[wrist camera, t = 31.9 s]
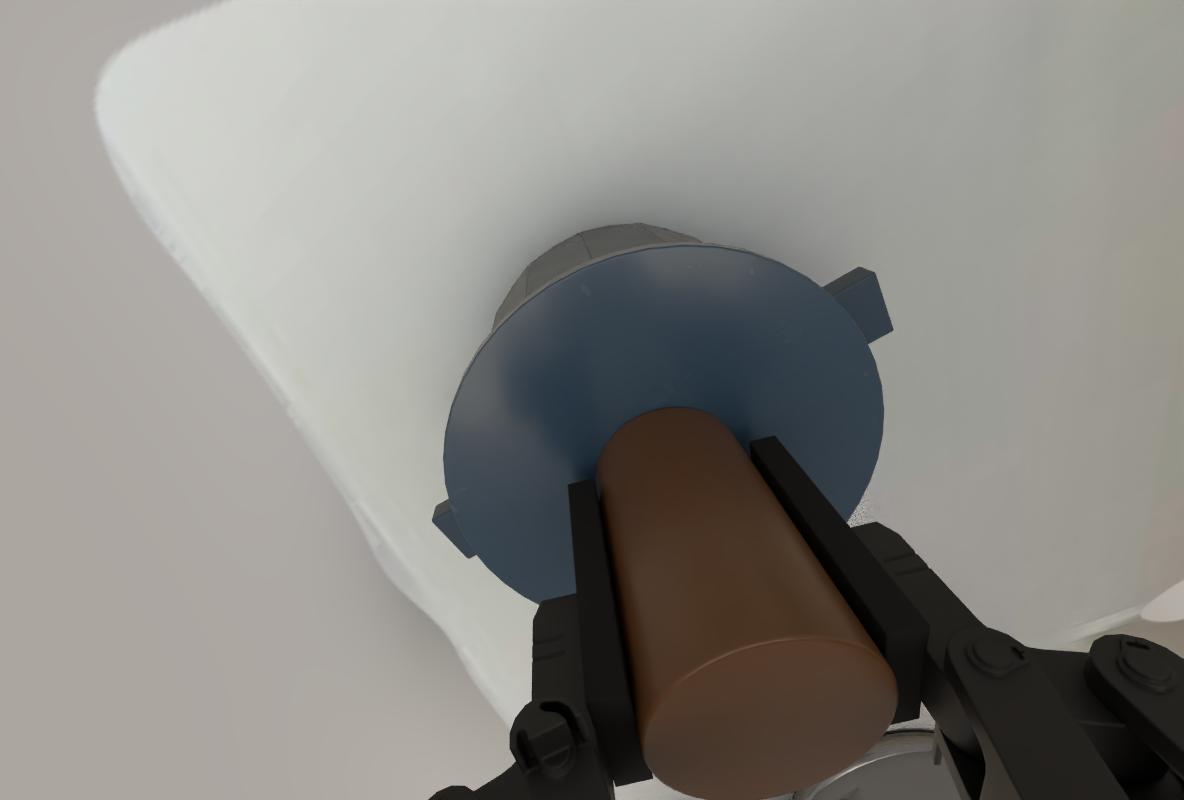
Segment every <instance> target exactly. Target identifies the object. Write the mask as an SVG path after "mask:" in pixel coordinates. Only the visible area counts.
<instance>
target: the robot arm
mask: <svg viewBox="0 0 1184 800" xmlns="http://www.w3.org/2000/svg"><path fill="white" fill-rule="evenodd" d="M749 444H750V455H751V461H752V462H753V464H754V465H755V467H756V468H757V470H758V471H759V473H760V474H761V476H762V477H763V479H764V480H765V482H766V483H767V485H768V486H769V488H770V489H771V491H772V492H773V494H774V495H775V497H776V498H777V500H778V501H779V502H780V504H781V505H782V507H783V508H784V510H785V511H786V513H787V514H788V516H789V517H790V519H791V520H792V522H793V523H794V525H795V526H796V528H797V529H798V531H799V532H800V534H801V535H802V537H803V538H804V540H805V541H806V543H807V544H808V545H809V547H810V548H811V550H812V551H813V553H814V554H815V556H816V557H817V559H818V560H819V562H820V563H821V565H822V566H823V568H824V569H825V571H826V572H827V574H828V575H829V577H830V578H831V580H832V581H833V583H834V584H835V586H836V587H837V589H838V590H839V591H840V593H841V594H842V596H843V597H844V599H845V600H846V602H847V603H848V605H849V606H850V608H851V609H852V611H853V612H854V614H855V615H856V617H857V618H858V620H859V621H860V623H861V624H862V626H863V627H864V629H865V630H866V632H867V633H868V634H869V636H870V637H871V639H872V640H873V642H874V643H875V645H876V646H877V648H878V649H879V651H880V652H881V654H882V655H883V657H884V658H885V660H886V661H887V663H888V664H889V666H890V667H891V669H892V670H893V672H894V675H895V678H896V681H897V686H898V705H897V709H896V712H895V715H894V718H893V720H892V722H891V724H890V725H892V724H896V723H901V722H905V721H910V720H914V719H918V718H919V715H920V706H921V701H922V703H923V704H924V705H925V707H926V708H927V710H928V711H929V713H930V714H931V716H932V717H933V719H934V720H935V721H936V724H935V731H934V733H928V732H902V733H894V734H888V735H884V736H882V737H881V738H880V740H879V741H878V742H877V743H876V744H875V745H874V746H873V747H872V748H871V749H870V750H869V751H868V752H867V753H866V754H865V755H864V756H862V757H861V758H860V759H858V760H857V761H856V762H855V763H853V764H852V765H850V766H849V767H847V768H846V769H844V770H843V771H841V772H839V773H837V774H836V775H834V776H832V777H830V778H828V779H826V780H824V781H822V782H819V783H817V784H815V785H813V786H810V787H807V788H804V789H802V790H799V791H796V793H795V796H794V799H793V800H1184V659H1183V658H1181V657H1179V656H1178V655H1176V654H1175V653H1173V652H1172V651H1170V650H1169V649H1167V648H1165V647H1163V646H1161V645H1158V644H1156V643H1153V642H1151V641H1148V640H1146V639H1143V638H1139V637H1134V636H1129V635H1124V634H1118V635H1105V636H1103V637H1101V638H1099V639H1097V640H1095V641H1094V642H1093V644H1092V647H1091V649H1090V651H1089V653H1084V652H1070V651H1056V650H1043V649H1036V648H1030V647H1026V646H1024V645H1023V644H1021V643H1020V642H1018V641H1017V640H1015V639H1014V638H1012V637H1011V636H1009V635H1007V634H1005V633H1002V632H999V631H997V630H994V629H991V628H987V627H986V626H985V625H983V624H982V623H981V622H980V621H979V620H978V619H977V618H976V617H975V616H974V615H973V614H972V613H971V611H970V610H969V609H968V608H967V607H966V606H965V605H964V604H963V603H962V602H961V601H960V600H959V598H958V597H957V596H956V595H955V594H954V593H953V592H952V591H951V590H950V589H949V588H948V587H947V586H946V584H945V583H944V582H943V581H942V580H941V579H940V578H939V577H938V576H937V575H936V574H935V573H934V572H933V570H932V569H931V568H930V569H929V568H928V566H927V564H926V563H925V562H924V561H923V560H922V559H921V558H920V556H919V555H918V554H917V555H916V554H915V552H914V550H913V549H912V548H911V547H910V546H909V545H908V544H907V542H906V541H905V540H904V539H903V538H902V537H901V536H900V535H899V534H898V533H896V532H894V531H892V530H891V529H889V528H887V527H885V526H884V525H882V524H880V523H878V522H873V523H869V524H864V525H860V526H856V527H851V528H850V527H849V525H848V524H847V523H846V522H845V520H844V519H843V518H842V517H841V516H840V514H839V513H838V512H837V511H836V509H835V508H834V507H833V506H832V504H831V503H830V502H829V501H828V500H827V498H826V497H825V496H824V495H823V493H822V492H821V491H820V490H819V489H818V487H817V486H816V485H815V484H814V482H813V481H812V480H811V479H810V478H809V476H808V475H807V474H806V473H805V471H804V470H803V469H802V468H801V467H800V465H799V464H798V463H797V462H796V460H795V459H794V458H793V457H792V455H791V454H790V453H789V452H788V451H787V449H786V448H785V447H784V446H783V444H782V443H781V442H780V441H779V440H778V438H777V437H776V436H775V435H774V436H770V437H766V438H761V439H757V440H753V441H749ZM568 495H569V508H570V520H571V532H572V544H573V557H574V569H575V581H576V593H574V594H570V595H565V596H561V597H557V598H553V599H548V600H544V601H541V603H540V606H539V608H538V610H537V612H536V615H535V617H534V619H533V648H532V658H533V662H532V701H531V702H530V703H528V704H527V705H525V706H524V708H523V709H522V710H521V711H520V713H519V714H518V715H517V717H516V718H515V720H514V723H513V726H512V728H511V731H510V750H511V752H512V754H513V756H514V758H515V760H516V762H515V763H514V764H513V765H512V766H511V767H510V768H509V769H508V770H506V771H505V772H504V773H502V774H501V775H499V776H498V777H496V778H495V779H493V780H491V781H490V782H488V783H487V784H485V785H483V786H482V787H480V788H479V789H477V790H475V791H472V790H471V789H469V788H468V787H466V786H450V787H447V788H445V789H443V790H440V791H438V792H436V794H435V795H433V796H432V797H431V798H430V799H428V800H615V793H614V784H613V780H614V783H615V786H616V787H618V786H623V785H627V784H631V783H636V782H640V781H645V780H649V779H653V775H652V772H651V770H650V769H649V767H648V766H647V764H646V762H645V760H644V758H643V755H642V752H641V748H640V743H639V737H638V731H637V723H636V717H635V711H634V705H633V699H632V693H631V687H630V681H629V675H628V669H627V663H626V657H625V651H624V645H623V639H622V633H621V627H620V621H619V615H618V609H617V603H616V597H615V591H614V585H613V579H612V573H611V567H610V561H609V555H608V549H607V543H606V537H605V531H604V525H603V519H602V513H601V507H600V502H599V498H598V495H597V491H596V487H595V484H594V480H593V478H592V479H588V480H584V481H580V482H576V483H571V484H568Z"/></svg>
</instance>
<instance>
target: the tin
mask: <svg viewBox="0 0 1184 800" xmlns="http://www.w3.org/2000/svg"><path fill="white" fill-rule="evenodd" d="M668 242H701V243H703V242H702V241H700V240H698V239H696V238H695V237H691V236H688V235H684V234H680V233H677V232H674V231H671V230H668V229H665V228H659V227H654V226H650V225H646V224H642V223H635V224H624V225H613V226H606V227H601V228H597V229H593V230H589V231H585V232H581V233H578V234H576V235H575V236H573V237H570V238H569V239H567V240H565V241H563V242H561V243H559V244H558V245H556V246H554V247H552V248H551V249H550V250H548V251H547V252H546V253H544V254H543V255H542V256H540V257H539V258H538V259H537V260H535V261H534V262H532V263H531V264H530V265H529V266H528V267H527V268H526V270H525V271H524V273H523V274H522V275H521V276H520V278H519V279H518V280H517V281H516V283H515V284H514V285H513V287H512V288H511V290H510V292H509V294H508V295H507V297H506V299H505V300H504V302H503V303H502V305H501V306H500V308H499V309H498V311H497V313H496V317H495V320H494V324H493V328H492V330H493V329H494V328H495V327H496V325H497V324H498V323H499V322H500V321H501V320H502V319H503V318H504V317H505V316H506V315H507V314H508V313H509V312H510V311H511V310H512V309H513V308H515V307H516V306H517V305H518V304H519V303H520V302H521V301H522V300H523V299H524V298H526V297H527V296H529V295H530V294H531V293H533V292H534V291H536V290H537V289H538V288H540V287H541V286H543V285H544V284H545V283H547V282H548V281H550V280H551V279H553V278H555V277H557V276H559V275H561V274H563V273H564V272H566V271H568V270H570V269H572V268H574V267H576V266H578V265H579V264H582V263H585V262H587V261H590V260H593V259H595V258H598V257H601V256H603V255H606V254H609V253H611V252H616V251H620V250H624V249H629V248H633V247H637V246H642V245H647V244H658V243H668ZM822 288H823V289H824V290H825V291H827V292H828V293H829V294H831V295H832V297H833V298H834V299H835V300H836V301H837V302H838V303H839V304H840V305H841V306H842V307H843V308H844V309H845V310H846V311H847V312H848V313H849V314H850V316H851V317H852V319H853V320H854V322H855V323H856V325H857V326H858V328H859V329H860V331H861V332H862V334H863V335H864V337H865V339H866V341H867V344H869V343H871V342H873V341H875V340H877V339H878V338H880V337H882V336H884V335H886V334H888V333H890V332H891V331H893V327H892V324H891V320H890V317H889V314H888V311H887V308H886V305H885V302H884V299H883V295H882V292H881V289H880V286H879V283H878V280H877V277H876V274H875V272H872V271H870V270H867V269H864V268H862V267H857V268H856V269H854V270H852V271H850V272H848V273H847V274H845V275H843V276H841V277H840V278H838V279H836V280H834V281H833V282H831V283H829V284H827V285H825V286H824V287H822ZM491 332H492V331H491ZM432 522H433V523H434V524H435V525H436V526H437V527H438V528H439V529H440V530H441V531H442V532H443V533H444V534H445V535H446V536H447V538H448V539H449V540H450V541H451V542H452V543H453V544H454V545H455V546H456V547H457V548H458V549H459V550H460V551H461V552H462V553H463V554H464V555H465V556H466V557H467V558H468V559H469V558H471V557H473V556H475V555H476V553H475V552H474V551H473V550H472V548H471V546H470V545H469V543H468V541H467V540H466V538H465V537H464V535H463V533H462V532H461V530H460V528H459V525H458V523H457V520H456V518H455V516H454V513H453V511H452V509H451V505H450V501H449V499H447V500H446V501H444V502H442V503H440V504H438V505H437V506H436V508H435V511H434V514H433V518H432Z"/></svg>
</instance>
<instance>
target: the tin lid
mask: <svg viewBox="0 0 1184 800" xmlns="http://www.w3.org/2000/svg"><path fill="white" fill-rule="evenodd" d="M883 420H884V405H883V394H882V385H881V381H880V377H879V373H878V370H877V366H876V362H875V359H874V357H873V355H872V353H871V350H870V348H869V346H868V344H867V341H866V339H865V337H864V335H863V334H862V332H861V331H860V329H859V328H858V326H857V325H856V323H855V322H854V320H853V319H852V317H851V316H850V314H849V313H848V312H847V311H846V310H845V309H844V308H843V307H842V306H841V305H840V304H839V303H838V302H837V301H836V300H835V299H834V298H833V297H832V295H831V294H829V293H828V292H827V291H825V290H824V289H823V288H821V287H820V286H819V285H817V284H816V283H815V282H813V281H812V280H811V279H809V278H808V277H807V276H805V275H803V274H801V273H799V272H797V271H795V270H793V269H791V268H790V267H788V266H786V265H784V264H782V263H780V262H778V261H776V260H774V259H771V258H768V257H766V256H763V255H760V254H757V253H754V252H751V251H748V250H745V249H741V248H736V247H731V246H725V245H720V244H715V243H701V242H668V243H658V244H647V245H642V246H637V247H633V248H629V249H624V250H620V251H616V252H611V253H609V254H606V255H603V256H601V257H598V258H595V259H593V260H590V261H587V262H585V263H582V264H579V265H578V266H576V267H574V268H572V269H570V270H568V271H566V272H564V273H563V274H561V275H559V276H557V277H555V278H553V279H551V280H550V281H548V282H547V283H545V284H544V285H543V286H541V287H540V288H538V289H537V290H536V291H534V292H533V293H531V294H530V295H529V296H527V297H526V298H524V299H523V300H522V301H521V302H520V303H519V304H518V305H517V306H516V307H515V308H513V309H512V310H511V311H510V312H509V313H508V314H507V315H506V316H505V317H504V318H503V319H502V320H501V321H500V322H499V323H498V324H497V325H496V327H495V328H494V329H493V330H492V332H491V333H490V334H489V335H488V337H487V338H486V339H485V340H484V342H483V343H482V344H481V345H480V347H479V348H478V350H477V352H476V354H475V355H474V357H473V359H472V360H471V362H470V364H469V365H468V367H467V369H466V371H465V372H464V375H463V377H462V380H461V382H460V385H459V387H458V390H457V392H456V395H455V397H454V400H453V403H452V406H451V410H450V414H449V418H448V423H447V427H446V431H445V441H444V454H443V463H444V475H445V485H446V489H447V493H448V497H449V501H450V505H451V509H452V511H453V513H454V516H455V518H456V520H457V523H458V525H459V528H460V530H461V532H462V533H463V535H464V537H465V538H466V540H467V541H468V543H469V545H470V546H471V548H472V550H473V551H474V552H475V553H476V555H477V556H478V557H479V558H480V559H481V561H482V562H483V563H484V564H485V565H486V567H487V568H488V569H489V570H490V571H492V572H493V573H494V574H495V575H496V576H497V577H498V578H499V579H500V580H501V581H503V582H504V583H505V584H506V585H508V586H509V587H511V588H512V589H513V590H515V591H516V592H518V593H519V594H521V595H522V596H524V597H525V598H527V599H529V600H531V601H533V602H535V603H537V604H539V605H540V603H541V601H544V600H548V599H553V598H557V597H561V596H565V595H570V594H574V593H576V581H575V569H574V557H573V544H572V532H571V520H570V508H569V495H568V484H571V483H576V482H580V481H584V480H588V479H592V478H593V480H594V484H595V487H596V491H597V495H598V498H599V502H600V507H601V513H602V519H603V525H604V531H605V537H606V543H607V549H608V555H609V561H610V567H611V573H612V579H613V585H614V591H615V597H616V603H617V609H618V615H619V621H620V627H621V633H622V639H623V645H624V651H625V657H626V663H627V669H628V675H629V681H630V687H631V693H632V699H633V705H634V711H635V717H636V723H637V731H638V737H639V743H640V748H641V752H642V755H643V758H644V760H645V762H646V764H647V766H648V767H649V769H650V770H651V772H652V773H653V774H654V775H655V776H656V777H657V778H658V779H659V780H660V781H661V782H663V783H664V784H665V785H667V786H669V787H670V788H672V789H674V790H676V791H678V792H681V793H683V794H685V795H689V796H692V797H696V798H701V799H706V800H760V799H767V798H772V797H777V796H781V795H785V794H789V793H792V792H796V791H799V790H802V789H804V788H807V787H810V786H813V785H815V784H817V783H819V782H822V781H824V780H826V779H828V778H830V777H832V776H834V775H836V774H837V773H839V772H841V771H843V770H844V769H846V768H847V767H849V766H850V765H852V764H853V763H855V762H856V761H857V760H858V759H860V758H861V757H862V756H864V755H865V754H866V753H867V752H868V751H869V750H870V749H871V748H872V747H873V746H874V745H875V744H876V743H877V742H878V741H879V740H880V738H881V737H882V736H883V735H884V733H885V732H886V730H887V729H888V727H889V726H890V724H891V722H892V720H893V718H894V715H895V712H896V709H897V705H898V686H897V681H896V678H895V675H894V672H893V670H892V669H891V667H890V666H889V664H888V663H887V661H886V660H885V658H884V657H883V655H882V654H881V652H880V651H879V649H878V648H877V646H876V645H875V643H874V642H873V640H872V639H871V637H870V636H869V634H868V633H867V632H866V630H865V629H864V627H863V626H862V624H861V623H860V621H859V620H858V618H857V617H856V615H855V614H854V612H853V611H852V609H851V608H850V606H849V605H848V603H847V602H846V600H845V599H844V597H843V596H842V594H841V593H840V591H839V590H838V589H837V587H836V586H835V584H834V583H833V581H832V580H831V578H830V577H829V575H828V574H827V572H826V571H825V569H824V568H823V566H822V565H821V563H820V562H819V560H818V559H817V557H816V556H815V554H814V553H813V551H812V550H811V548H810V547H809V545H808V544H807V543H806V541H805V540H804V538H803V537H802V535H801V534H800V532H799V531H798V529H797V528H796V526H795V525H794V523H793V522H792V520H791V519H790V517H789V516H788V514H787V513H786V511H785V510H784V508H783V507H782V505H781V504H780V502H779V501H778V500H777V498H776V497H775V495H774V494H773V492H772V491H771V489H770V488H769V486H768V485H767V483H766V482H765V480H764V479H763V477H762V476H761V474H760V473H759V471H758V470H757V468H756V467H755V465H754V464H753V462H752V461H751V455H750V444H749V441H753V440H757V439H761V438H766V437H770V436H774V435H775V436H776V437H777V438H778V440H779V441H780V442H781V443H782V444H783V446H784V447H785V448H786V449H787V451H788V452H789V453H790V454H791V455H792V457H793V458H794V459H795V460H796V462H797V463H798V464H799V465H800V467H801V468H802V469H803V470H804V471H805V473H806V474H807V475H808V476H809V478H810V479H811V480H812V481H813V482H814V484H815V485H816V486H817V487H818V489H819V490H820V491H821V492H822V493H823V495H824V496H825V497H826V498H827V500H828V501H829V502H830V503H831V504H832V506H833V507H834V508H835V509H836V511H837V512H838V513H839V514H840V516H841V517H842V518H843V519H844V520H845V522H846V523H847V521H848V520H849V518H850V516H851V515H852V513H853V512H854V510H855V509H856V507H857V506H858V504H859V502H860V500H861V498H862V496H863V494H864V492H865V490H866V488H867V486H868V484H869V482H870V480H871V477H872V474H873V471H874V468H875V465H876V462H877V460H878V455H879V450H880V445H881V441H882V436H883Z"/></svg>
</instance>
